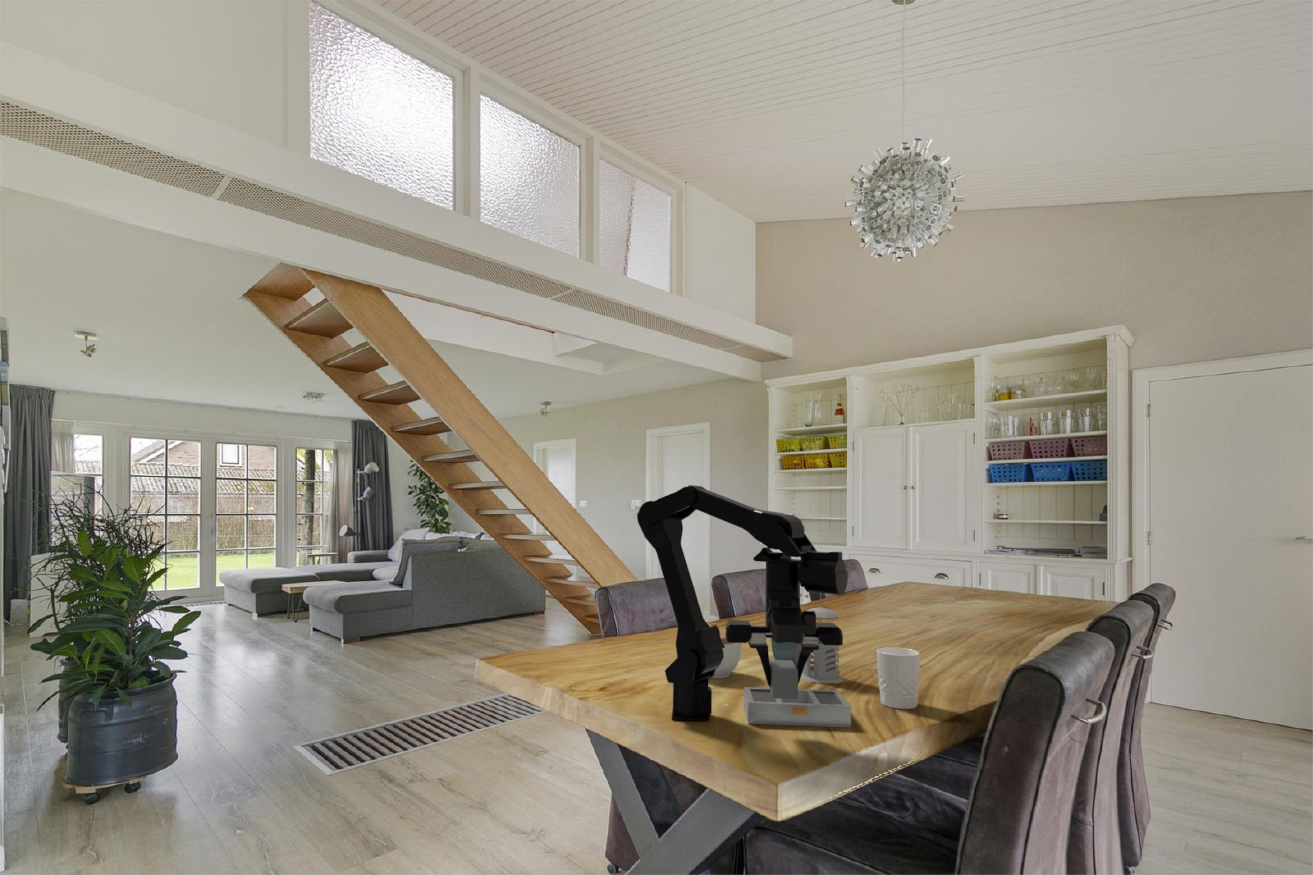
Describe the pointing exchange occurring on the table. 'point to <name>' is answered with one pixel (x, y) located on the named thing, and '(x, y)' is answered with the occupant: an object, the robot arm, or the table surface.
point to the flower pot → (784, 650)
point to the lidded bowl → (727, 656)
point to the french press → (823, 656)
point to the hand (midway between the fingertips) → (782, 685)
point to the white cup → (898, 677)
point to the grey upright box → (783, 679)
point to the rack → (797, 708)
